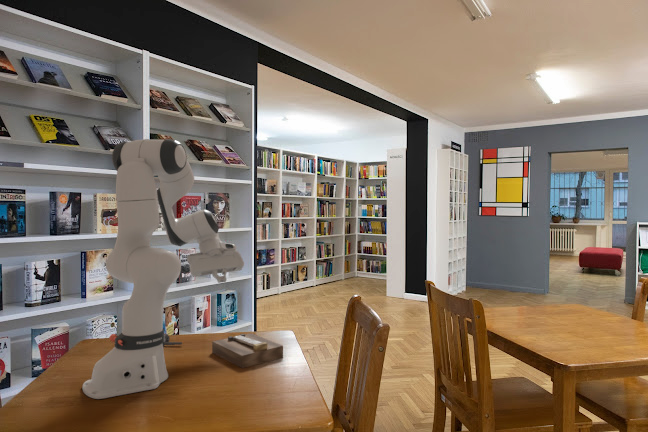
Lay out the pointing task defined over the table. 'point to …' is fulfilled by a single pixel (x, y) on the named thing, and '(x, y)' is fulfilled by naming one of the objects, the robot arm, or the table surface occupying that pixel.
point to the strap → (246, 340)
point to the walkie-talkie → (170, 342)
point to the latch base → (247, 350)
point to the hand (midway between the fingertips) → (222, 281)
